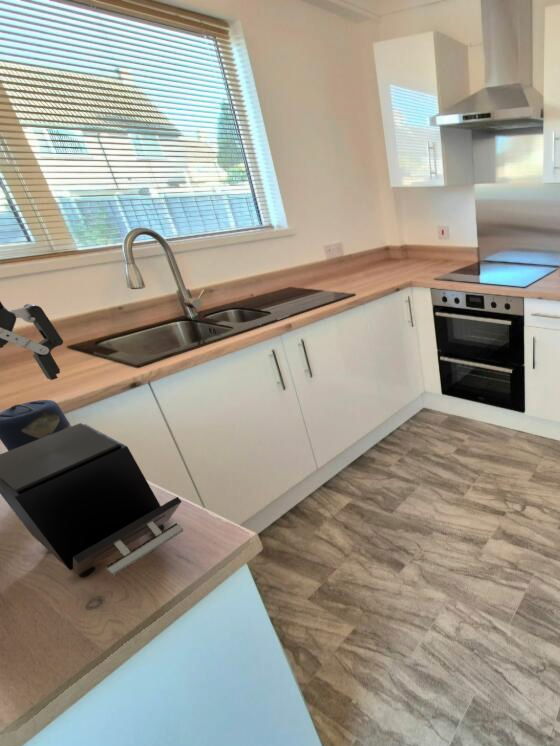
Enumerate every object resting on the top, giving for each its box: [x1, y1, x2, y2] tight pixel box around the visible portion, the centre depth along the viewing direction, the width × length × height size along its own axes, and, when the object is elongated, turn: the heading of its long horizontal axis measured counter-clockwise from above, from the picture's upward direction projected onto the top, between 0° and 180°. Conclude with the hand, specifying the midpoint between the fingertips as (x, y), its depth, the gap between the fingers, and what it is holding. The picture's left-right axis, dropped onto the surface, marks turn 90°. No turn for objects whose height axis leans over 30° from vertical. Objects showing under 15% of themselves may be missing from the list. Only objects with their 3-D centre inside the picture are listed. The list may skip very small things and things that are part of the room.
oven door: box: [72, 496, 184, 577], centre depth 65 cm, size 5×13×14 cm
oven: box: [0, 422, 165, 579], centre depth 70 cm, size 16×13×18 cm
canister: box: [0, 399, 72, 451], centre depth 86 cm, size 10×10×18 cm
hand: (11, 391), depth 59 cm, fingers open, 8 cm apart
